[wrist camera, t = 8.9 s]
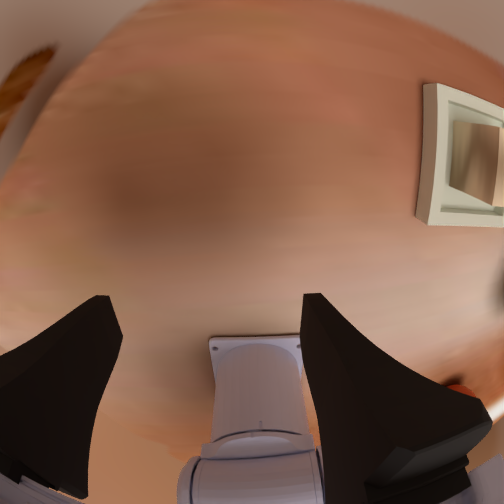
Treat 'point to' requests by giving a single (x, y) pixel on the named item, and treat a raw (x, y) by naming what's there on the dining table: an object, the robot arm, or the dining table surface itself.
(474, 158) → the maple block
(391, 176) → the dining table surface
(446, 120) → the tray
